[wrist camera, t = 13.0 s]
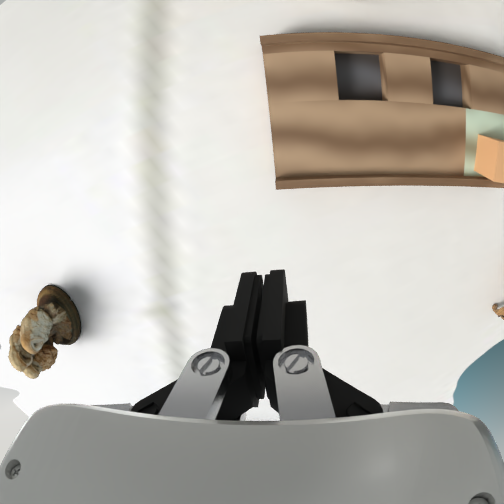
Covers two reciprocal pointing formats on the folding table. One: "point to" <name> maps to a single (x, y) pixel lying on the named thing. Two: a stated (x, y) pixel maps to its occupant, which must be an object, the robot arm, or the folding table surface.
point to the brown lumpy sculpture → (44, 332)
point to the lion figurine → (498, 311)
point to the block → (490, 158)
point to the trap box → (379, 109)
